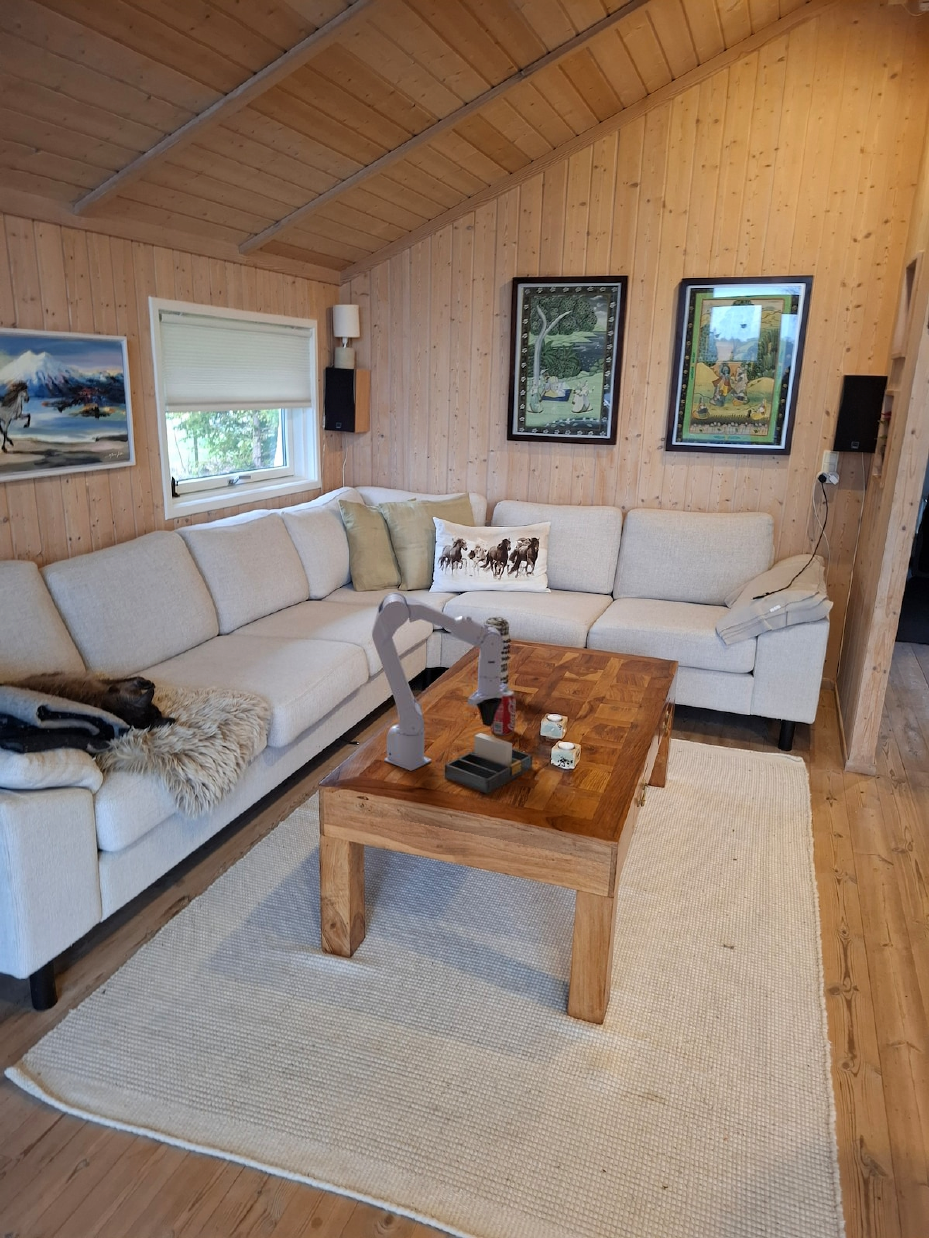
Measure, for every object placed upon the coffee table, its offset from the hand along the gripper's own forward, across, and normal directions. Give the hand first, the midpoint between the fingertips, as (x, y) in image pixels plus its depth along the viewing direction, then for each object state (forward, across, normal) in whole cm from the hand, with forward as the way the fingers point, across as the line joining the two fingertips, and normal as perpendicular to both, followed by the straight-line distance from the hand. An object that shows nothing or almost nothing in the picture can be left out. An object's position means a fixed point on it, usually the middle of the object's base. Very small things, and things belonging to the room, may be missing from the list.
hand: (487, 724), depth 219 cm
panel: (+9, -3, -4) cm, 10 cm away
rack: (+10, -6, -5) cm, 12 cm away
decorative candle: (+10, +40, +27) cm, 49 cm away
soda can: (+10, +18, +8) cm, 22 cm away
